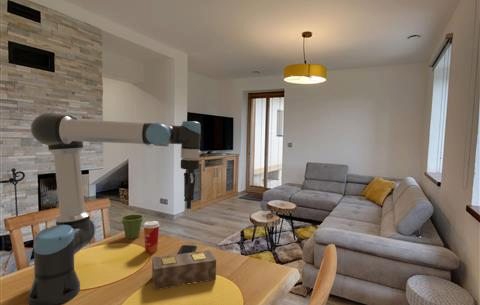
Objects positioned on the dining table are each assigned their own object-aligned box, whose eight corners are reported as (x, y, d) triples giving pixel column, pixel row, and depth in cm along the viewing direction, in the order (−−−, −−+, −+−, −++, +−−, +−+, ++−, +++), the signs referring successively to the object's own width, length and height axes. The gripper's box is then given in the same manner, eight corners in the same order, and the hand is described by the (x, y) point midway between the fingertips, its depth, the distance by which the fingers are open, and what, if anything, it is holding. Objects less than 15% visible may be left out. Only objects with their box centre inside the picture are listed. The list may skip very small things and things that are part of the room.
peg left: (162, 281, 104) (163, 264, 104) (161, 275, 109) (161, 258, 108) (176, 279, 106) (176, 262, 106) (174, 273, 111) (174, 256, 110)
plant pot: (147, 234, 156) (147, 215, 155) (134, 242, 144) (134, 221, 144) (130, 231, 159) (130, 213, 158) (116, 239, 148) (116, 219, 147)
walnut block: (153, 289, 101) (153, 269, 100) (152, 276, 110) (152, 257, 110) (215, 279, 109) (216, 260, 109) (209, 267, 119) (209, 250, 118)
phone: (197, 245, 140) (191, 258, 125) (196, 247, 140) (191, 261, 125) (181, 245, 140) (174, 258, 125) (181, 247, 140) (174, 260, 126)
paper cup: (142, 248, 136) (142, 221, 136) (158, 246, 140) (158, 219, 139) (143, 255, 129) (144, 226, 129) (160, 252, 133) (160, 224, 132)
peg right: (193, 276, 109) (194, 259, 108) (191, 270, 113) (191, 254, 113) (205, 274, 110) (206, 258, 110) (203, 269, 115) (203, 253, 115)
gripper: (202, 161, 106) (199, 219, 107) (196, 157, 118) (193, 210, 120) (183, 160, 103) (180, 221, 105) (178, 157, 116) (176, 211, 117)
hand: (187, 215), depth 112 cm, fingers closed
